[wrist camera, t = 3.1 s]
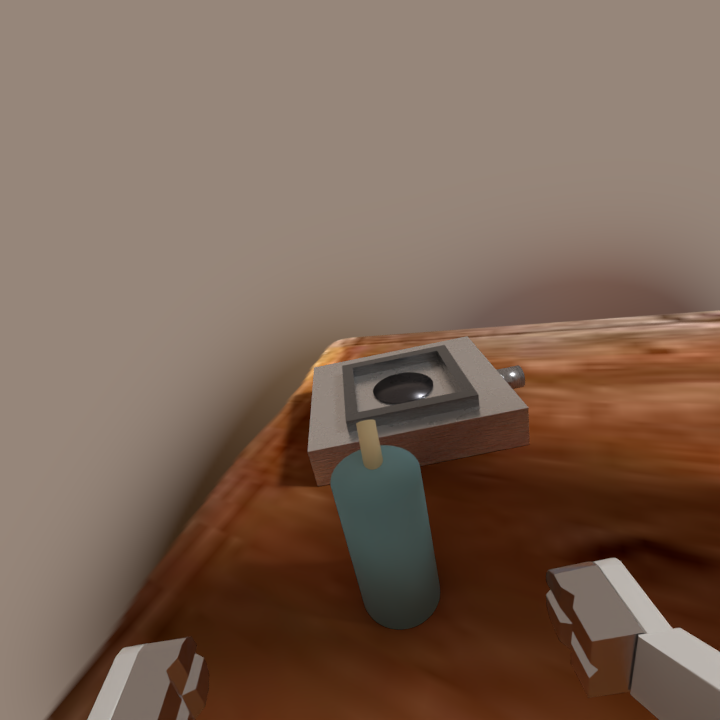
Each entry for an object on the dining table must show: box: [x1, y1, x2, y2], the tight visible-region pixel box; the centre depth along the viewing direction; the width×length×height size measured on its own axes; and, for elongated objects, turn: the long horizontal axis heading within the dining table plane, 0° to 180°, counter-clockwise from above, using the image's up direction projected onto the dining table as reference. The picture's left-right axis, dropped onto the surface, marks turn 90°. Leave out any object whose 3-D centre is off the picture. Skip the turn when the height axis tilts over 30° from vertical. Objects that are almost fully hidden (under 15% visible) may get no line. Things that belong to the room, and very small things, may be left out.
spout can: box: [330, 420, 440, 629], centre depth 26 cm, size 5×6×12 cm
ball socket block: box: [308, 336, 529, 486], centre depth 46 cm, size 23×18×5 cm
